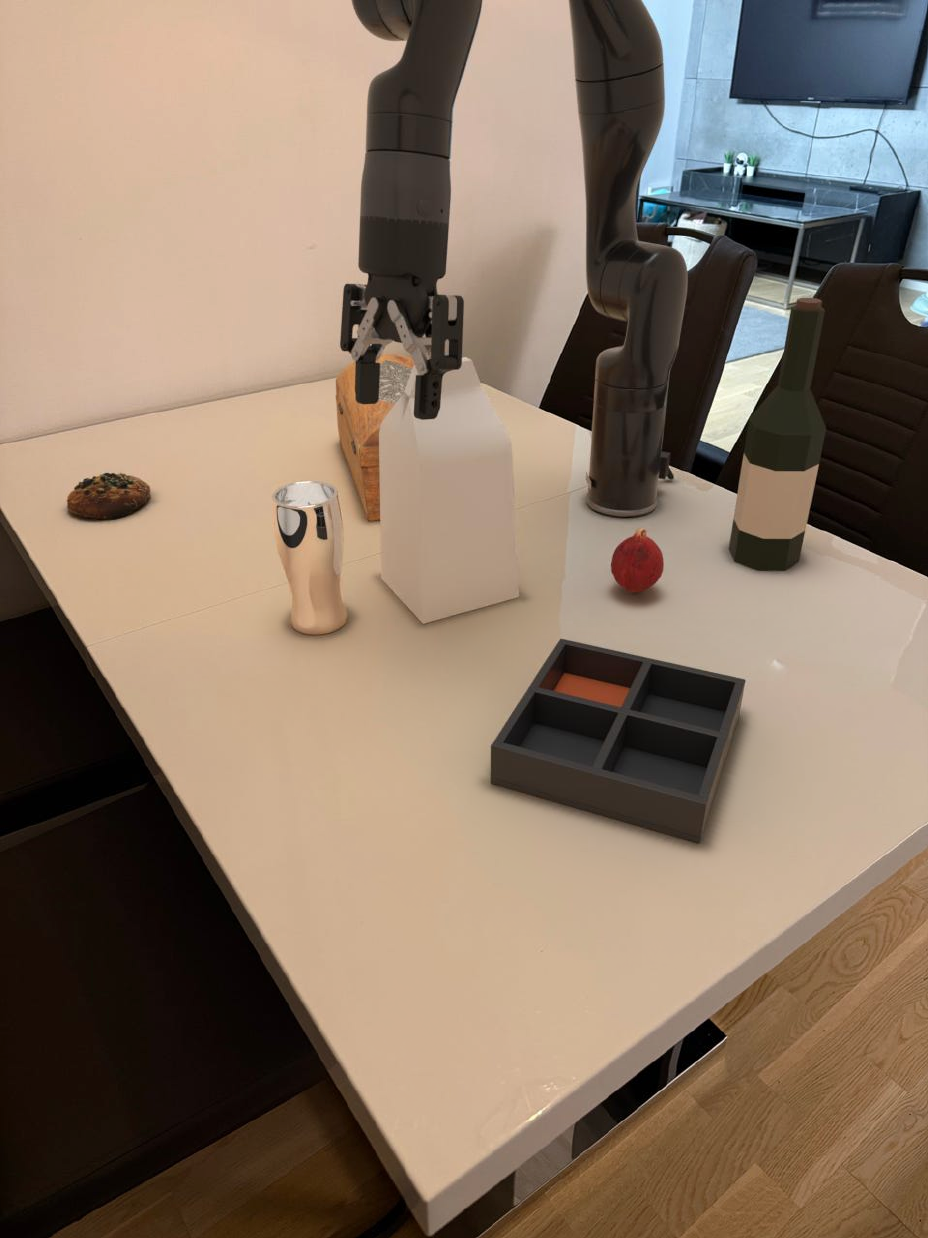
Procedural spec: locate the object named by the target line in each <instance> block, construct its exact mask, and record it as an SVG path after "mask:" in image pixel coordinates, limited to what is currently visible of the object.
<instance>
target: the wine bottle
mask: <svg viewBox="0 0 928 1238" xmlns="http://www.w3.org/2000/svg"><path fill="white" fill-rule="evenodd" d="M795 303H796V304H795V305H793V306H791V307H790V312H789V318H788V323H787V329H786V336H785V341H784V347H783V352H782V358H781V359H782V360H781V364H780V371H779V376H778V381H777V385H776V386H775V387H774V389H773V390H772V391H771V392H770V393H769V394H768V396H767V397H766V398H765V399H764V401H763V402H762V403H761V404H760V405H759V406H758V407H757V409H756V410H755V411H754V412H753V413H752V415H751V416H749V419H748V424H747V431H746V437H745V442H744V443H745V444H744V450H743V457H742V462H741V467H740V474H739V481H738V487H737V493H736V494H737V496H736V501H735V506H734V513H733V519H732V526H731V531H730V537H729V544H728V550H729V553H730V555H731V557H732V559H733V562H735V563H738V564H741V565H743V566H746V567H748V568H751V569H752V570H756V571H781V572H782V571H786V570H788V569H789V568H791V567H793V566H795V565H796V564H798V563H799V562H800V559H801V555H802V548H803V544H804V539H805V534H806V529H807V524H808V520H809V514H810V509H811V505H812V501H813V495H814V491H815V485H816V481H817V476H818V471H819V466H820V461H821V457H822V451H823V446H824V442H825V437H826V432H827V426H826V423H825V422H824V419H823V417H822V414H821V412H820V409H819V407H818V405H817V402H816V400H815V397H814V395H813V392H812V390H811V385H812V381H813V375H814V371H815V365H816V360H817V354H818V351H819V350H818V349H819V344H820V339H821V334H822V330H823V329H822V328H823V323H824V319H825V318H824V317H825V312H826V309H824V308H823V306H822V304H823V300H821V299H820V298H815V297H800V298H797V299H796V302H795Z"/></svg>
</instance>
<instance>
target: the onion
mask: <svg viewBox="0 0 928 1238" xmlns="http://www.w3.org/2000/svg"><path fill="white" fill-rule="evenodd" d="M647 533H648V531H647V530H646V529H645V528H643V527H640V528H637V529H636V531H635V533H634V534H633V535H631V536H629V537H627V538H625V539H624V540H623V541H621V542H620V543H619V544H618V545H617V546H616V548H615V549H614V550H613V553H612V556H611V562H610V572H611V574H612V576H613V579H614V580H615V583H616V584H618V585H619V586H620V587H621V588H622V589H624V590H625V591H627V592H629V593H631V594H634V595H636V594H639V593H642V592H644V591H646V590H649V589H650V588H651V587H653V586H654V585H655V584H657V582H658V581H659V580H660V579H661V577H662V575H663V573H664V565H665V564H664V563H665V562H664V561H665V560H664V556H663V555H664V554H663V552H662V550H661V548H660V547H659V545H658V544H657V543H656V542H655V540H653V538H650V537H648V536H647Z"/></svg>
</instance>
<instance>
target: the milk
mask: <svg viewBox="0 0 928 1238" xmlns="http://www.w3.org/2000/svg"><path fill="white" fill-rule="evenodd" d="M416 375H419V374H418V372H417V369H416V366H415V365H414V366H413V369H412V372H411V375H410V377H409V380H408V383H407V385H406V388H405V391H404V393H405V394H403V395H402V396H401V398H400V399H399V400H398V401H397V403H396V404H395V405H394V407H393V408H392V409H391V410H390V412H389V413H388V414H387V415H386V417H385V418H384V420H383V421H382V424H381V426H380V430H379V472H380V520H379V525H380V527H379V530H380V579H381V580H382V581H383V582H384V583H385V584H386V586H387V587H388V588H389V589H390V590H391V591H392V593H394V594H395V595H396V596H397V597H398V598H399V600H400V601H401V602H402V603H403V604H404V606H406V608H408V609H409V611H410V612H411V613H412V614H413V615H414V616H415V617H416V619H417V620H419V622H420V623H421V624H422V625H424V624H428V623H432V622H435V621H439V620H442V619H446V618H449V617H453V616H456V615H460V614H464V613H467V612H470V611H471V612H472V611H475V610H478V609H482V608H485V607H489V606H492V605H496V604H500V603H503V602H506V601H510V600H514V599H517V598H519V597H520V591H519V590H520V589H519V569H518V568H519V567H518V547H517V546H518V545H517V525H516V505H515V504H516V503H515V483H514V482H515V481H514V461H513V445H512V441H511V437H510V435H509V432H508V429H507V428H506V426H505V424H504V422H503V420H502V419H501V417H500V415H499V413H498V412H497V410H496V408H495V406H494V405H493V403H492V401H491V399H490V398H489V396H488V394H487V392H486V391H485V389H484V387H483V386H482V385H481V380H480V378H479V376H478V373H477V370H476V367H475V365H474V362H473V360H472V359H470V358H469V357H466V356H462V365H461V368H460V369H459V370H452V371H449V372H446V373H445V374H444V375H443V378H442V388H441V400H440V401H441V403H440V410H439V412H438V415H437V417H436V418H435V419H427V420H421V419H417V418H415V417H414V398H415V381H416Z"/></svg>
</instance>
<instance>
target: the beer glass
mask: <svg viewBox="0 0 928 1238" xmlns="http://www.w3.org/2000/svg"><path fill="white" fill-rule="evenodd" d="M271 500H272V517H273V519H272V520H273V530H274V531H273V532H274V538H275V543H276V548H277V552H278V556H279V560H280V562H281V566H282V568H283V571H284V574H285V578H286V580H287V584H288V586H289V591H290V594H291V596H290V597H291V608H290V609H291V610H290V624H291V627H292V628H293V629H294V630H295V631H297V632H299V633H301V634H305V635H310V636H319V635H326V634H329V633H332V632H336V631H338V630H339V629H341V628H342V627H343V626H344V625H346V623H347V621H348V613H347V609H346V606H345V603H344V599H343V596H342V588H341V587H342V585H341V584H342V583H341V581H342V570H343V560H344V547H345V546H344V545H345V544H344V543H345V537H344V525H343V517H342V512H341V505H340V501H339V500H340V499H339V493H338V489H337V487H336V486H335V485H333V484H331V483H328V482H325V481H319V480H301V481H295V482H289V483H287V484H285V485H282V486H280V487H278V488H277V489H275V490H274V491H273V492H272V494H271Z"/></svg>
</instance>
